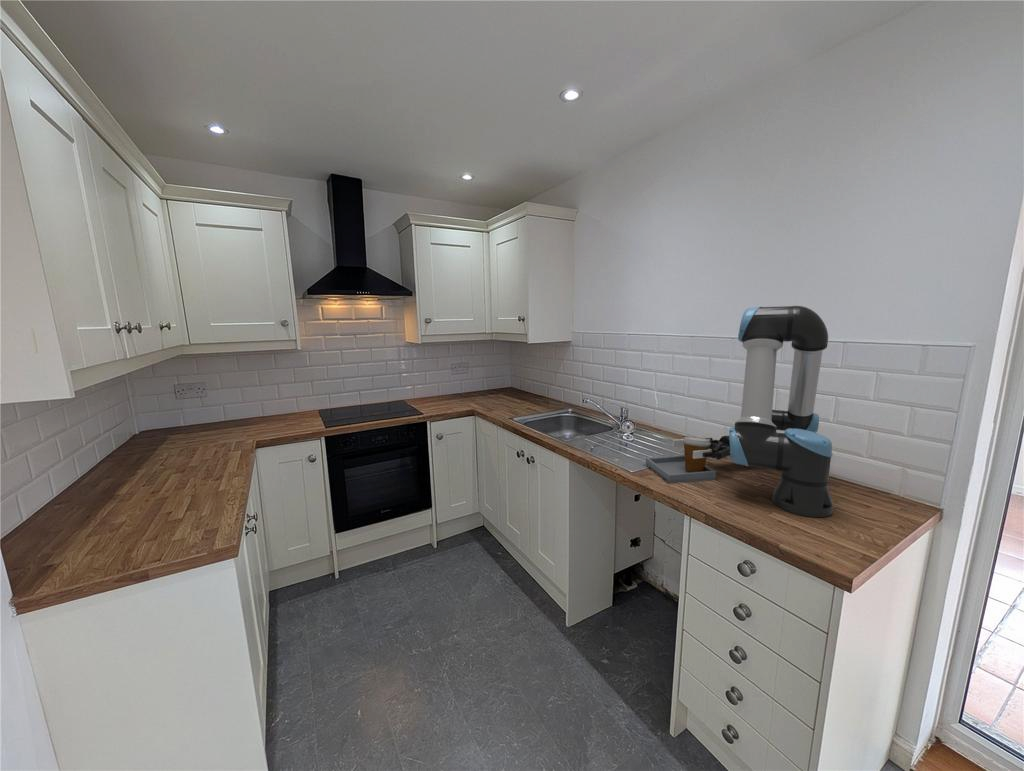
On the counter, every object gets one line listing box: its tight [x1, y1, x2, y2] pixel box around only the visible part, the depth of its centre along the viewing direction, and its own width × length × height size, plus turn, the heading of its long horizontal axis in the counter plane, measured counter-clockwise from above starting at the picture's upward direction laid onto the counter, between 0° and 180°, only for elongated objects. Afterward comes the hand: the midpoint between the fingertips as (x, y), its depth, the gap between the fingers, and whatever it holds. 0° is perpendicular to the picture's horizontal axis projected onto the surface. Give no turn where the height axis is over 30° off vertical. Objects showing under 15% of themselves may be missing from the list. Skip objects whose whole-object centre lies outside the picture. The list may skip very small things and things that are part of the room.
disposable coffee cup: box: [683, 436, 711, 472], centre depth 149 cm, size 10×10×12 cm
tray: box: [645, 454, 717, 484], centre depth 152 cm, size 18×18×3 cm
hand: (682, 448), depth 151 cm, fingers open, 13 cm apart
